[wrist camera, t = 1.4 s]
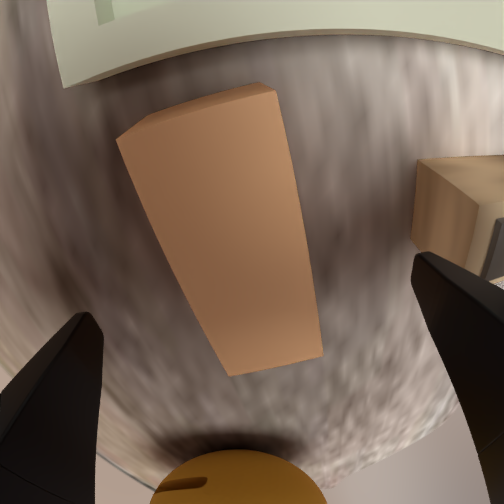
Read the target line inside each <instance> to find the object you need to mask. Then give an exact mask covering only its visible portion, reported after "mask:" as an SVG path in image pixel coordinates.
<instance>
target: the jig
mask: <svg viewBox="0 0 504 504" xmlns="http://www.w3.org/2000/svg"><path fill="white" fill-rule="evenodd" d="M47 8H48V14H49V21H50V27H51V33H52V38H53V43H54V49H55V53H56V58H57V63H58V67H59V72H60V76H61V80H62V84H63V88H64V89H66V88H70V87H74V86H78V85H82V84H86V83H91V82H95V81H99V80H102V79H104V78H107V77H110V76H112V75H115V74H118V73H121V72H124V71H127V70H130V69H133V68H136V67H139V66H142V65H146V64H149V63H152V62H156V61H159V60H163V59H166V58H170V57H174V56H178V55H182V54H186V53H190V52H195V51H199V50H204V49H209V48H214V47H219V46H224V45H230V44H236V43H242V42H249V41H256V40H264V39H273V38H283V37H294V36H310V35H381V36H396V37H407V38H417V39H425V40H432V41H439V42H445V43H451V44H457V45H462V46H467V47H472V48H477V49H481V50H485V51H489V52H493V53H497V54H501V55H504V0H47Z"/></svg>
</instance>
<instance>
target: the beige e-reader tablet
mask: <svg viewBox="0 0 504 504" xmlns="http://www.w3.org/2000/svg"><path fill="white" fill-rule="evenodd" d="M410 239H411V240H412V242H413V243H414V244H415V245H416V246H417V248H418V249H419V250H420V251H421V252H426V251H430V252H432V253H434V254H436V255H438V256H440V257H442V258H444V259H446V260H448V261H450V262H452V263H454V264H456V265H458V266H460V267H462V268H464V269H466V270H468V271H470V272H472V273H474V274H476V275H478V276H479V277H481V278H483V279H485V280H487V281H489V282H491V283H492V284H495V283H498V282H500V281H503V280H504V155H489V156H465V157H447V158H432V159H419V160H417V178H416V191H415V202H414V212H413V221H412V229H411V237H410Z"/></svg>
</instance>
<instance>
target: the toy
mask: <svg viewBox="0 0 504 504" xmlns="http://www.w3.org/2000/svg"><path fill="white" fill-rule="evenodd" d="M150 504H327V502H326V500H325V498H324V496H323V494H322V492H321V490H320V489H319V487H318V486H317V485H316V484H315V482H314V481H313V480H312V479H311V478H310V477H309V476H308V475H307V474H306V473H304V472H303V471H302V470H301V469H299V468H298V467H296V466H295V465H293V464H292V463H290V462H288V461H286V460H284V459H282V458H279V457H276V456H274V455H271V454H267V453H264V452H259V451H252V450H241V449H234V450H221V451H215V452H211V453H207V454H204V455H201V456H198V457H195V458H193V459H191V460H189V461H187V462H185V463H183V464H182V465H180V466H179V467H177V468H176V469H174V470H173V471H172V472H171V473H170V474H169V475H168V476H167V477H166V478H165V479H164V480H163V481H162V482H161V483H160V485H159V486H158V488H157V489H156V491H155V493H154V494H153V497H152V499H151V501H150Z"/></svg>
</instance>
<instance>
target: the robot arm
mask: <svg viewBox="0 0 504 504" xmlns="http://www.w3.org/2000/svg"><path fill="white" fill-rule="evenodd" d="M411 284H412V287H413V290H414V293H415V295H416V298H417V300H418V303H419V305H420V308H421V311H422V314H423V316H424V319H425V322H426V325H427V327H428V330H429V332H430V334H431V337H432V339H433V341H434V343H435V345H436V347H437V350H438V352H439V354H440V356H441V358H442V361H443V363H444V365H445V368H446V370H447V372H448V375H449V377H450V379H451V382H452V384H453V387H454V389H455V392H456V394H457V397H458V399H459V402H460V405H461V407H462V410H463V412H464V415H465V418H466V420H467V424H468V426H469V429H470V432H471V435H472V438H473V441H474V444H475V447H476V451H477V453H478V457H479V461H480V464H481V468H482V471H483V475H484V478H485V482H486V486H487V490H488V494H489V498H490V503H491V504H504V290H503V289H501V288H500V287H498V286H496V285H494V284H492V283H491V282H489V281H487V280H485V279H483V278H481V277H479V276H478V275H476V274H474V273H472V272H470V271H468V270H466V269H464V268H462V267H460V266H458V265H456V264H454V263H452V262H450V261H448V260H446V259H444V258H442V257H440V256H438V255H436V254H434V253H432V252H430V251H426V252H421V253H418V254H416V255H415V257H414V262H413V268H412V273H411ZM103 346H104V335H103V332H102V330H101V328H100V327H99V325H98V324H97V322H96V321H95V319H94V318H93V316H92V315H91V314H90V313H89V312H80V313H76V314H75V315H74V316H73V317H72V318H71V319H70V320H69V321H68V322H67V323H66V324H65V325H64V326H63V327H62V328H61V329H60V330H59V331H58V332H57V333H56V334H55V335H54V336H53V337H52V338H51V339H50V340H49V341H48V342H47V343H46V344H45V345H44V346H43V347H42V348H41V349H40V350H39V351H38V352H37V353H36V354H35V355H34V356H33V357H32V359H31V360H30V361H29V362H28V363H27V364H26V365H25V366H24V367H23V368H22V369H21V370H20V371H19V373H18V374H17V375H16V376H15V377H14V378H13V379H12V380H11V381H10V383H9V384H8V385H7V386H6V387H5V388H4V389H3V390H2V392H1V393H0V504H95V461H96V443H97V429H98V417H99V407H100V397H101V388H102V367H103Z"/></svg>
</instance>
